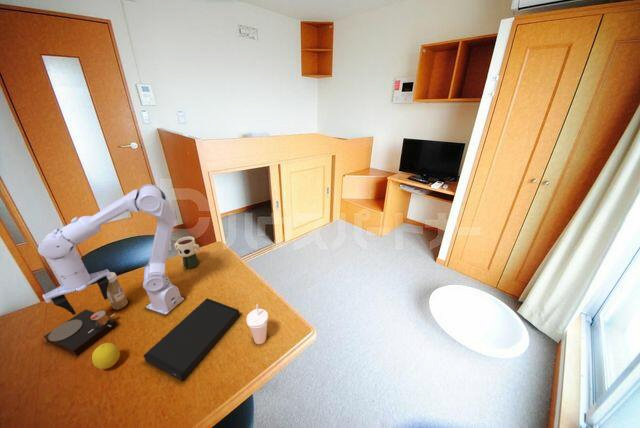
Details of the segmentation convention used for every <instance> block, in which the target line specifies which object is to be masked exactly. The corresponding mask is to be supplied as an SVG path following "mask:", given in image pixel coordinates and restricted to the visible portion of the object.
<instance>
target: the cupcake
mask: <svg viewBox="0 0 640 428" xmlns="http://www.w3.org/2000/svg"><path fill="white" fill-rule="evenodd" d="M109 319H110V318H109V316H108V314H107V312H106V310H99V311H96V312H94V314H93V315H92V316H91V320H92V322H93V324H94V326H95V327H96V328H100V327H103V326H105V325H106V324H107V323H108V322H109Z"/></svg>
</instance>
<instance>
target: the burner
mask: <svg viewBox="0 0 640 428" xmlns="http://www.w3.org/2000/svg"><path fill="white" fill-rule="evenodd" d="M67 321H68V320H67ZM67 321H65V322H63V323H61V324H60V325H58V326H56V327H55V328H54V329H52V330H53V331H52V330H51V331H52V332H51V331H50V332H51V333H50V334H49V336H48V339H49V340H50V341H52V342H56V341H61V340H64V339H66V338H68V337H70V336H72V335H73V334H75V333H76V332H77V331H79V330H80V328H81V327H82V325H83V323H82V321H81V320H71V321H68V322H67Z"/></svg>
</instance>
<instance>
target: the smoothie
mask: <svg viewBox="0 0 640 428" xmlns="http://www.w3.org/2000/svg"><path fill="white" fill-rule="evenodd" d="M245 321H246V324H247V326H248V328H249V330H250V333H251V335H252V338H253V341H254V343H255V344H257V345H262V344H264V343H265V342H266V340H267V333H268V321H269V313H268V311H267V310H265V309H263V308H259V304H258V303H255V309H253V310H250V312H249V313H248V314H247V316H246V319H245Z"/></svg>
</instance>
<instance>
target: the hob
mask: <svg viewBox="0 0 640 428" xmlns="http://www.w3.org/2000/svg"><path fill="white" fill-rule="evenodd" d="M94 313H95V312H94V311H92V310H89V309H86V308H85V309H83V310H82V311H80V312H79V313H76V314H75V315H73V317H71V318H70V319H68V320H66V322H68V321H71V320H81V321H82V323H83V325H82V327H81V328H80V330H79V331H77V332H76V333H75V334H73V335H72V336H70V337H68V338H66V339H64V340H61V341H56V342H52V341H50V340H49V339H48V336H49V334H50V333H51V332H52V331H53V330H54V329H52V330H51V331H50V332H48V333H46V334H44V335H43V338H44V339H45V340H46V342H47V343H49V344H51V345H53V346H55V347H58V348H59V349H61V350H64V351H65V352H68V353H70V354H72V355H73V356H76V357H78V356H80V355H81V354H82V353H83V352H85V351H86V350H88V349H89V348H90V347H91V346H92V345H94V344H95V343H97V342H98V341H99V340H101V339H102V338H103V337H105V336H106V335H107V334H108V333H110V332H111V331H112V330H114V329H115V328H116V327H117V326H118V325H117V323H116V321H115V320H114V319H112V317H114V316H115V315H116V313H113V314H111V315H110V316H109V317H110V318H109V322H108V323H107V324H106V325H105V326H103V327H100V328H96V327H95V326H94V324H93V322H92V320H91V316H92V315H93V314H94Z"/></svg>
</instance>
